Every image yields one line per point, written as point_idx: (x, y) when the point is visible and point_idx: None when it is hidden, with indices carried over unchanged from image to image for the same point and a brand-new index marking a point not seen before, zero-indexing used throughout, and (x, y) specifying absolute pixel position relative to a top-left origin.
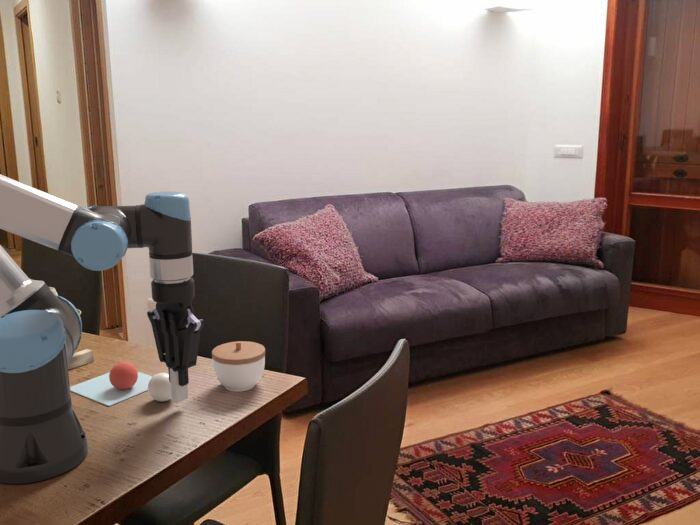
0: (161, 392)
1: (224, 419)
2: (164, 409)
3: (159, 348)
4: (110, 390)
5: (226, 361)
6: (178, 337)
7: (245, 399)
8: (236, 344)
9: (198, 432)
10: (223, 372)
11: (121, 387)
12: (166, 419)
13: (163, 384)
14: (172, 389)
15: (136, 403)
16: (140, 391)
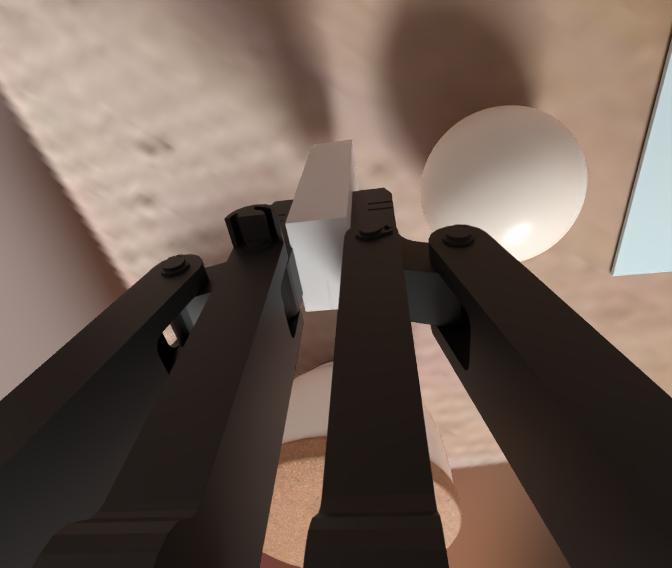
0: (443, 142)
1: (138, 222)
2: (395, 108)
3: (502, 295)
4: None
5: (287, 451)
6: (117, 500)
7: None
8: None
9: (77, 79)
10: (316, 401)
11: None
12: (292, 48)
13: (451, 173)
14: (337, 163)
15: (578, 42)
16: (659, 137)
